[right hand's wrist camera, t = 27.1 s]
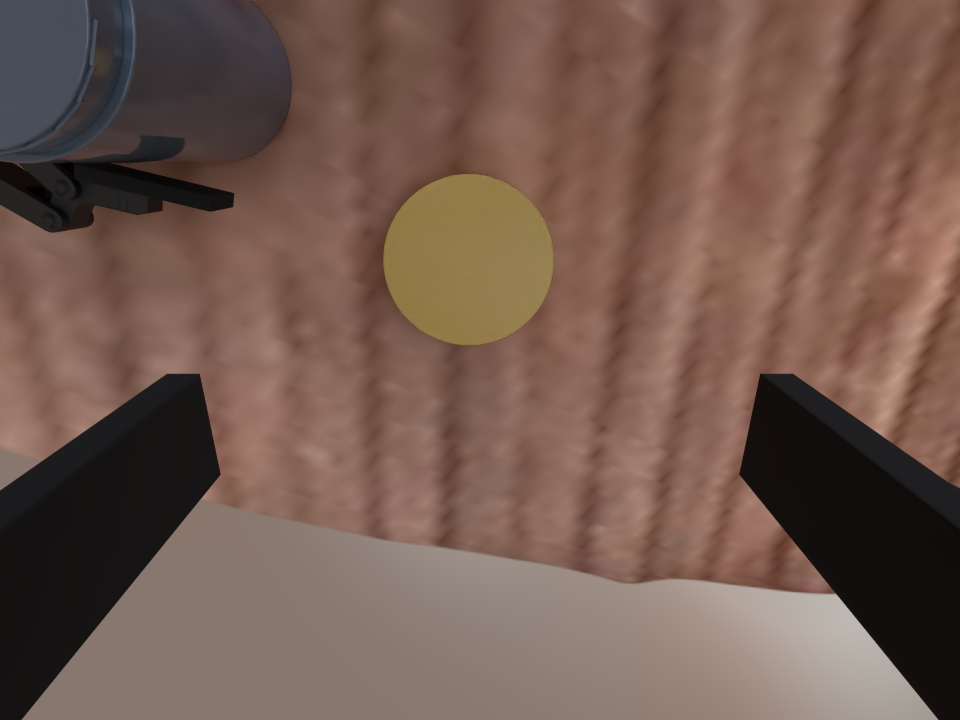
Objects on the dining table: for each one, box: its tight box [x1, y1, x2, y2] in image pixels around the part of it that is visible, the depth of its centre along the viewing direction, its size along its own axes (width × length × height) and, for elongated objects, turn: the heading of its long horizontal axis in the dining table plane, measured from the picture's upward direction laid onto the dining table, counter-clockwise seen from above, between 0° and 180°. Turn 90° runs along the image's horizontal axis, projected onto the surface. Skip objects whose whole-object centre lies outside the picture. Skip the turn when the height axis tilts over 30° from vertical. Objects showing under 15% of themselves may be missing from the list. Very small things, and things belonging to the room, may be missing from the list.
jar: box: [0, 0, 291, 163], centre depth 23 cm, size 10×10×17 cm
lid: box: [383, 174, 554, 345], centre depth 34 cm, size 11×11×2 cm
